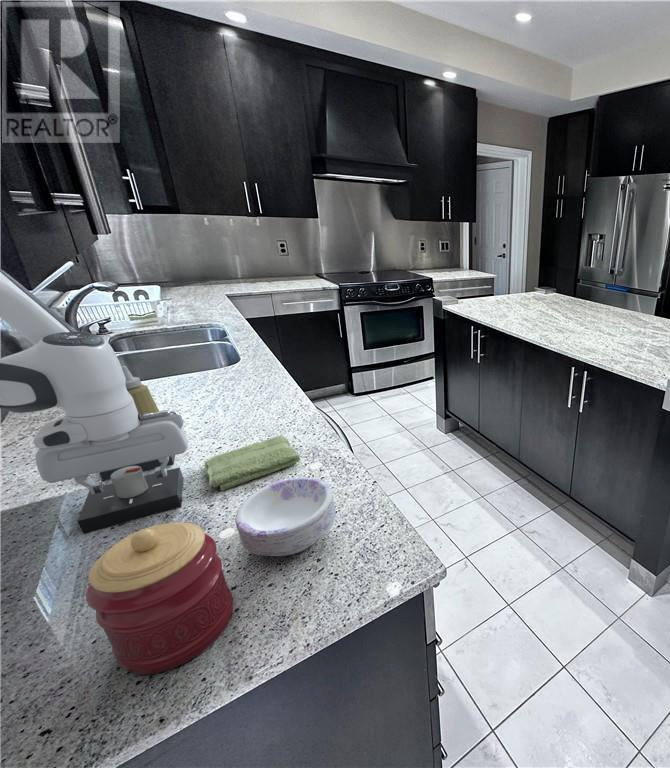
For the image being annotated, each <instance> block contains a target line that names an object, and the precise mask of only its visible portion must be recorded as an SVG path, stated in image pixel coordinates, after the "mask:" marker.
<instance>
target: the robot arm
mask: <svg viewBox="0 0 670 768" xmlns="http://www.w3.org/2000/svg"><path fill="white" fill-rule="evenodd" d="M0 319H1V320H2V321H3V322H4V323H6V324H7V325H9V326H10V327H11V328H12V329H14V331H16V332H17V333H18V334H19V335H21V336H22V337H24V338H25V339H26V340H28V341H29V342H30V343H31V344H32V346H30V347H28V348H26V349H24V350H22V351H18V352H16V353H12V354H10V355H7V356H3V357H2V358H0V410H3V411H7V412H11V413H15V414H17V413H18V414H27V413H34V412H40V411H45V410H49V409H52V408H61V409H62V410H63V411H64V416H61V417H59V418H57V419H54V420H52V421H49V422H47V423H45V424H43V426H42V427H41V428H40V429H39V430H37V432H36V433H35V436H34V438H33V445H34V446H35V447H36V448H37V451H36V453H35V455H34V456H35V458H34V459H35V465H36V467H37V470H38V473H39V476H40V478H41V480H43V481H45V482H47V483H50V484H54V483H59V482H63V481H68V480H71V479H74V480H75V483H77V484H78V485H81V486H83V487H85V488H87V489H88V490H89V491H90V492H91V494H92V495H93V494H97V493H100V492H103V490H104V486H103V485H104V484H103V481H102V479H100V480H96V481H95V480H93V479H92V478H90V477H89V475H94V474H97V473H98V474H99V472H103V471H107V470H112V469H116V468H120V467H125V466H129V465H134V464H138V463H142V462H147V461H151V460H155V459H158V460H159V463H162V464H161V466H159V467H156V468H155V469H154V473H155V474H156V475H157V476H156V477H157V478H161V477H165V476H167V470H168V469H167V468H166V467H168V466H167V463H168V461H169V456H173V455H175V456H177V455H181V454H184V453H186V451H187V450H188V448H189V440H188V437H187V435H186V432H185V431H184V428H183V426H184V420H183V417H182V415H181V414H180V413H178V412H177V411H173V410H169V409H164V410H163V409H162V410H159V412H154V413H146V414H140V415H139V414H138V411H137V409H136V406H135V403H134V400H133V398H132V396H131V395H130V394H129V392H128V391H127V389H126V385H125V381H126V379H125V375H124V372H123V370H122V367H121V366H122V364H121V362H120V360H119V358H118V355H117V353H116V352H115V350H114V348H113V347H112V346H111V344H110V343H109V342H108V341H107V339H106V338H104V337H103V336H101V335H99V334H95V333H93V332H87V331H78V330H77V329H75V328H74V327H73V326H72V325H70V324H69V323H68V322H67V321H66V320H64V319H63V318H62V317H60V316H59V315H58V314H57V313H56V312H55V311H54V310H52V309H51V308H50V307H49V306H47V305H46V303H44V302H43V301H42V300H41V299H39V298H38V297H37V296H36V295H35V294H33V293H32V292H31V291H30V290H29V289H27V288H26V287H25V286H24V285H23V284H21V282H19V281H18V280H16V278H14V277H13V276H11V275H10V274H8V273H7V272H6V271H4V270H3V269H2V268H0Z"/></svg>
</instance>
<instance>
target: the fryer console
mask: <svg viewBox="0 0 670 768" xmlns="http://www.w3.org/2000/svg"><path fill="white" fill-rule="evenodd" d="M166 470H167V476H165V477H161V478H157V477H156V476H157V475H156V474H155V472H154V473H149V474H146V475H145V474H144V477H145V480H146V483H147V485H148V488H147V490H146V491H145V492H143V493H142V494H140V495H137V496H134V497H131V498H120V497H118V494H117V492H116V490H115V487H114V485H113V482H112V483H108V484H102V485H103V486H104V490H103V492H100V493H97V494H93V495H92V494H91V492H90V490H89V491H88V493H87V496H86V498H85V501H84V503H83V505H82V508H81V511H80V513H79V516H78V518H77V520H76V522H77V524H78V526H79V528H80V531H81V533H82V535H86V534H90V533H94V532H97V531H100V530H104V529H107V528H110V527H115V526H119V525H121V524H125V523H128V522H133V521H137V520H139V519H143V518H146V517H147V518H148V517H150V516H154V515H157V514H161V513H165V512H168V511H171V510H176V509H178V508H181V507H182V503H183V493H184V491H183V490H184V475H183V473H182V470H181V467H175V468H171V469H166Z"/></svg>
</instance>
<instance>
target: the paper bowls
mask: <svg viewBox="0 0 670 768" xmlns="http://www.w3.org/2000/svg"><path fill="white" fill-rule="evenodd" d="M335 504H336V503H335V498H334V492H333V490H332V488H331V486H330V485H329V484H328V483H327V482H325V481H324V480H322V479H318V478H314V477H307V476H306V477H301V476H300V477H291V478H287V479H282V480H279V481H276V482H273V483H271V484H268V485H266V486H264V487H261V488H260V489H258V490H257V491H255V492H254V493H252V494H251V495H250V496H248V497H247V498H246V499H245V500H244V501H243V502H242V503H241V505H240V506H239V507H238V509H237V511H236V514H235V517H234V518H235V519H234V520H235V521H234V523H235V525H236V529H237V533H238V535H239V539H240V541H241V544H242V546H243V547H244V549H246V550H247V551H248V552H250V553H252V554H255V555H258V556H265V557H266V556H269V557H272V556H273V557H287V556H292V555H295V554H298V553H301V552H303V551H304V550H306V549H309V548H310V547H311V546H312V545H314V544H315V543H316V542H317V541H318V540H319V539H320V538H322V537H323V536H324V535H325V534H326V533H327V532H328V531H329V530H330V529H331V528H332V526H333V525H334V522H335V520H336V513H337V511H336V505H335Z"/></svg>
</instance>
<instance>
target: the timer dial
mask: <svg viewBox="0 0 670 768" xmlns="http://www.w3.org/2000/svg"><path fill="white" fill-rule="evenodd" d="M144 476H145V474H144V472H142V469H141V467H139V466H129V467H125V468H122V469H119V470H117V471H115V472H114V473H112V474H111V476H110V477H111V479H110V480H111V481H112V483H113V485H114V487H115V490H116V492H117V494H118V497H120V498H131V497H134V496H137V495H140V494H142V493H143V492H145V491H146V490H147V488H148V485H147V483H146V480H145V477H144Z"/></svg>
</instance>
